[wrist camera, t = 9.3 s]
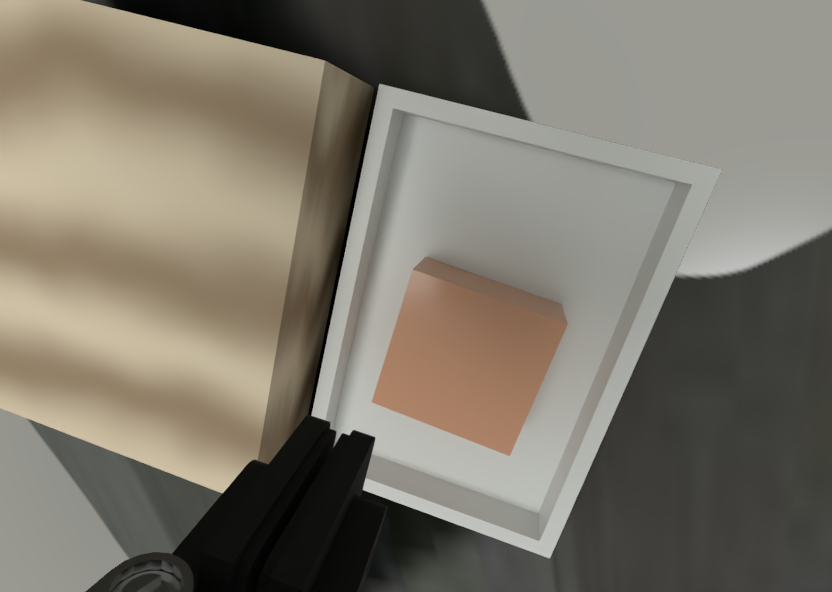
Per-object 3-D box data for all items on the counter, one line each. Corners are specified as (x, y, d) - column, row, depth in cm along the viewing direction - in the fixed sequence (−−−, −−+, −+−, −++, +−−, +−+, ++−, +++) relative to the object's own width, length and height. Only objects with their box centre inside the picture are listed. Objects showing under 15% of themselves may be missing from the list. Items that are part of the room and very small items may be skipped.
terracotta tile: (568, 323, 20) (561, 304, 22) (412, 269, 20) (425, 256, 23) (509, 456, 22) (510, 422, 25) (371, 402, 23) (387, 376, 25)
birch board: (84, 14, 24) (-49, -32, 18) (374, 87, 22) (324, 60, 16) (77, 355, 30) (-24, 398, 25) (303, 436, 28) (250, 504, 23)
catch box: (394, 92, 22) (379, 83, 20) (698, 168, 20) (722, 169, 18) (318, 441, 28) (300, 466, 26) (546, 523, 26) (549, 558, 24)
